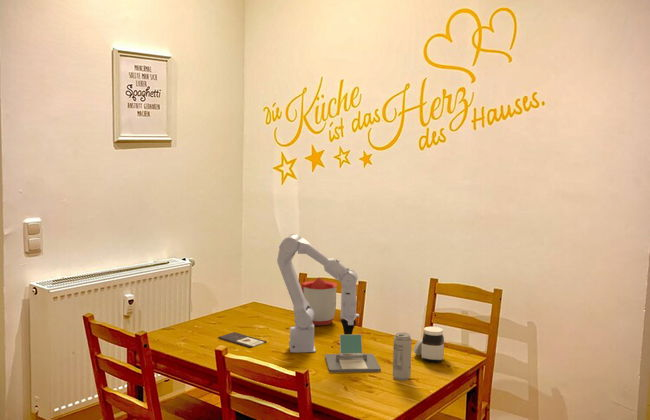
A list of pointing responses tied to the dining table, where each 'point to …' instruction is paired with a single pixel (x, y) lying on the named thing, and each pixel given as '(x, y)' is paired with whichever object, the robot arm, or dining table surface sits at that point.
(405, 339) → the energy drink can
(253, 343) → the chocolate bar
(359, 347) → the tile
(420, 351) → the spread jar
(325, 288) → the citrus juicer
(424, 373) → the dining table surface
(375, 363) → the grey flat piece
